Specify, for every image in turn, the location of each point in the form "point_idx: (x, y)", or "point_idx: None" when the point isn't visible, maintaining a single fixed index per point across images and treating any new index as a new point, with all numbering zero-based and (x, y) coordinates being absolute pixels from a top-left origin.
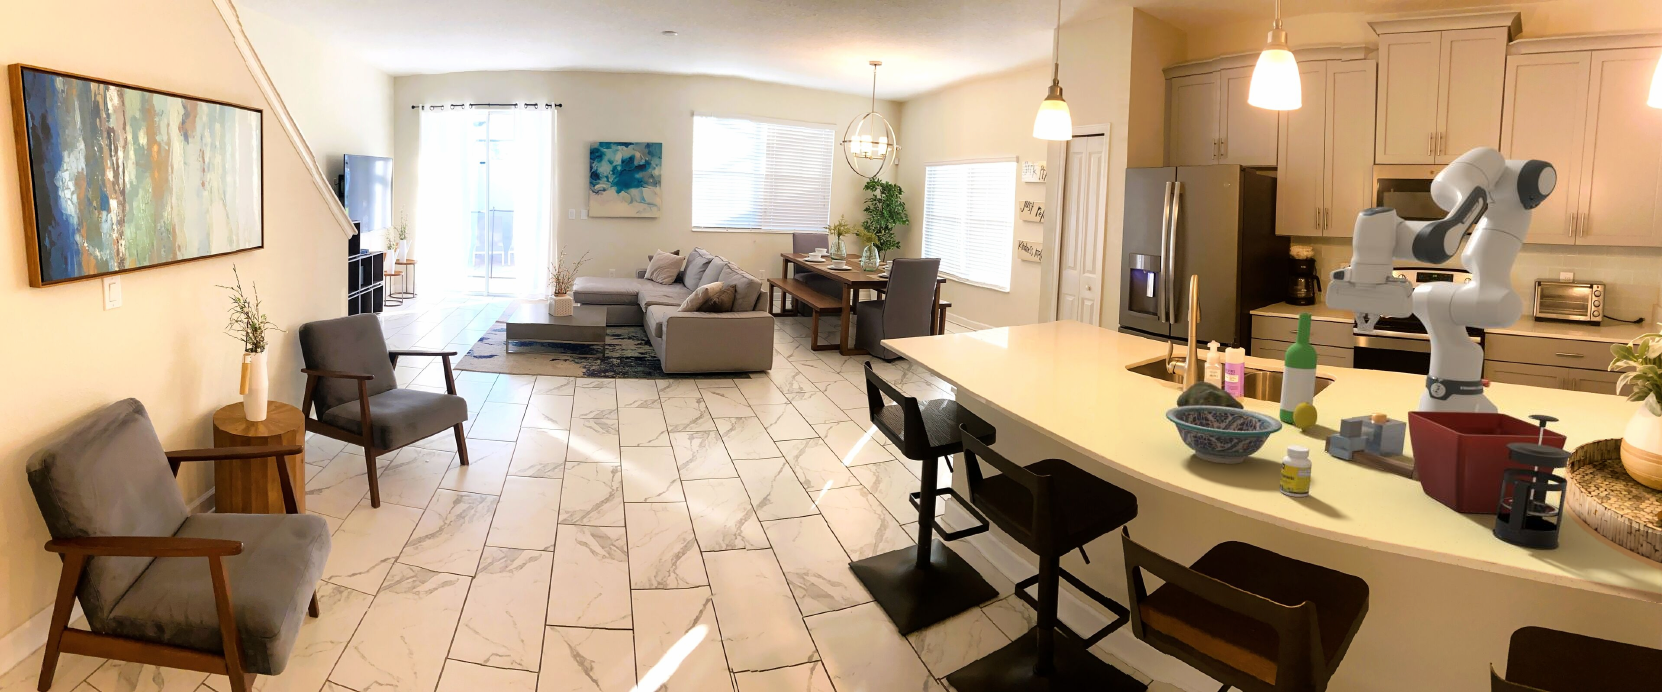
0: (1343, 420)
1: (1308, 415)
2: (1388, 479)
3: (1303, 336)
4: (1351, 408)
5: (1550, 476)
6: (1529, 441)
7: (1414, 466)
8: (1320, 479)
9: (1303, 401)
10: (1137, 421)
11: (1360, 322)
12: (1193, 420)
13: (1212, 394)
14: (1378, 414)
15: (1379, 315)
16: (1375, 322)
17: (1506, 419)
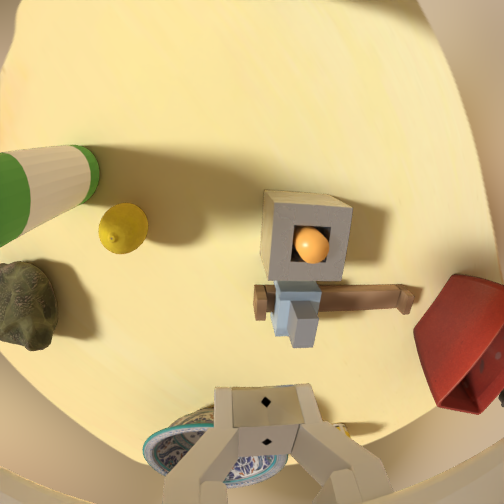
0: (297, 346)
1: (140, 244)
2: (374, 329)
3: None
4: None
5: None
6: None
7: (400, 310)
8: (327, 392)
9: (76, 195)
10: (55, 389)
11: (234, 462)
12: (163, 447)
13: (34, 345)
14: (313, 250)
15: (387, 480)
16: (342, 437)
17: None
